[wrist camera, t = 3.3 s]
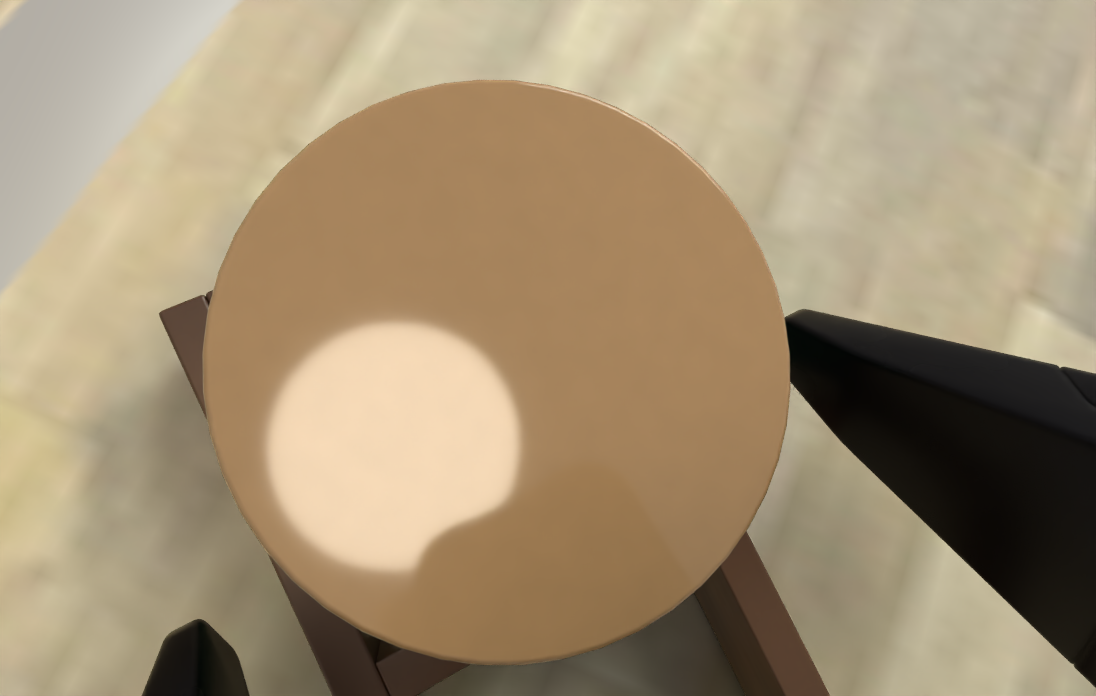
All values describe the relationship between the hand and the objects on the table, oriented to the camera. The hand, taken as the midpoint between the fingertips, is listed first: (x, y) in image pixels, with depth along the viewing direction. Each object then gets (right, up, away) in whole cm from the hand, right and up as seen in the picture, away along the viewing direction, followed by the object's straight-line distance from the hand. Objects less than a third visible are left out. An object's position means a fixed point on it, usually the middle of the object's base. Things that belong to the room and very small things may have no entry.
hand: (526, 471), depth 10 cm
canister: (-2, 0, +9) cm, 9 cm away
